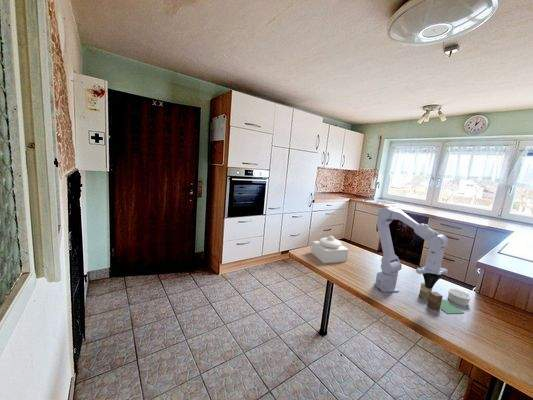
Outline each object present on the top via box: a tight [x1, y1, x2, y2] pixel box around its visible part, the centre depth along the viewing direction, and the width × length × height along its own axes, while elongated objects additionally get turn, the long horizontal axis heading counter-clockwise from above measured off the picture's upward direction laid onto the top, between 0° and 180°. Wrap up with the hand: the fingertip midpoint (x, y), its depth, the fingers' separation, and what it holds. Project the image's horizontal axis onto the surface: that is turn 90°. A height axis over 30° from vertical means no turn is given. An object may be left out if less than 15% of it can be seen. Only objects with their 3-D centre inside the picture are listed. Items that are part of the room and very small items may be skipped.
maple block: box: [418, 281, 433, 300], centre depth 118 cm, size 4×4×7 cm
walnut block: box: [426, 291, 443, 311], centre depth 110 cm, size 4×4×7 cm
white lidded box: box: [310, 235, 350, 264], centre depth 159 cm, size 18×18×16 cm
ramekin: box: [447, 288, 472, 307], centre depth 117 cm, size 9×9×4 cm
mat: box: [440, 299, 465, 315], centre depth 111 cm, size 9×10×1 cm
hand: (428, 287), depth 108 cm, fingers closed
